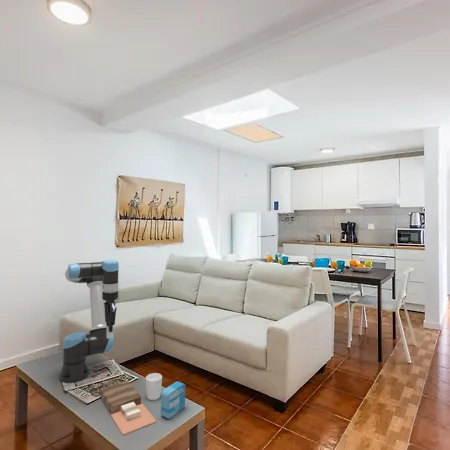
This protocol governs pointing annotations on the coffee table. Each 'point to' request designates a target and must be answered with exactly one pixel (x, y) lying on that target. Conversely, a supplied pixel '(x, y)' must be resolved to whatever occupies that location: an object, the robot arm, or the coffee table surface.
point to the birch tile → (130, 411)
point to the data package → (172, 399)
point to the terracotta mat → (133, 421)
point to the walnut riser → (119, 396)
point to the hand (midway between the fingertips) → (109, 337)
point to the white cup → (153, 386)
